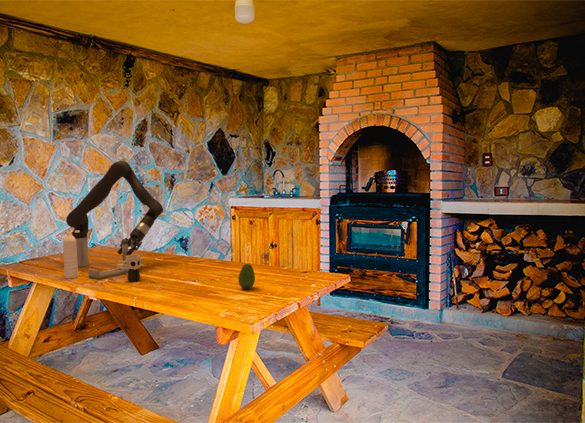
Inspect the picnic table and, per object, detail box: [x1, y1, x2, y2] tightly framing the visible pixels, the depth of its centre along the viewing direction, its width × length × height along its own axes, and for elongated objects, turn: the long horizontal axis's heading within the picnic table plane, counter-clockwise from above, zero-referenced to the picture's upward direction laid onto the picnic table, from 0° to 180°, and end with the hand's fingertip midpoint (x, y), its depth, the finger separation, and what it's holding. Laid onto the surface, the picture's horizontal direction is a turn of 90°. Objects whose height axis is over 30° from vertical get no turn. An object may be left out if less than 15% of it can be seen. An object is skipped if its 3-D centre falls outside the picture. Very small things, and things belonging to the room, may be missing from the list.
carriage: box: [116, 238, 129, 269], centre depth 241 cm, size 6×7×16 cm
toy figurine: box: [122, 254, 144, 282], centre depth 221 cm, size 11×7×13 cm, turn 138°
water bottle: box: [62, 231, 80, 280], centre depth 230 cm, size 9×6×25 cm
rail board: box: [87, 267, 140, 281], centre depth 236 cm, size 9×25×5 cm, turn 145°
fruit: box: [238, 263, 256, 290], centre depth 202 cm, size 8×8×12 cm
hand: (123, 254), depth 240 cm, fingers open, 8 cm apart
